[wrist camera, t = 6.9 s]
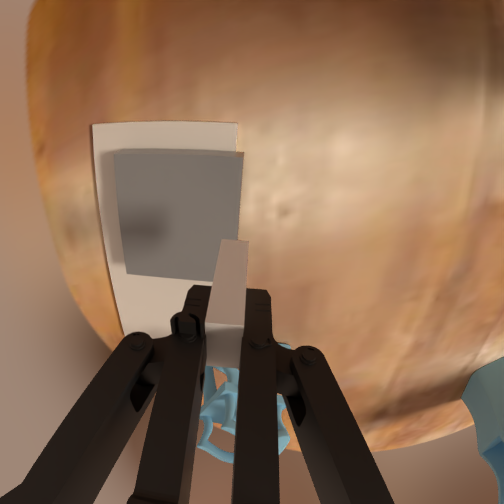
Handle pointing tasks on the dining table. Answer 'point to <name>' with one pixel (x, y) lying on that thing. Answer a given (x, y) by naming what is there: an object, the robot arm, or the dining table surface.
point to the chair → (229, 410)
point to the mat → (124, 285)
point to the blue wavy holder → (489, 416)
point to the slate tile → (177, 209)
